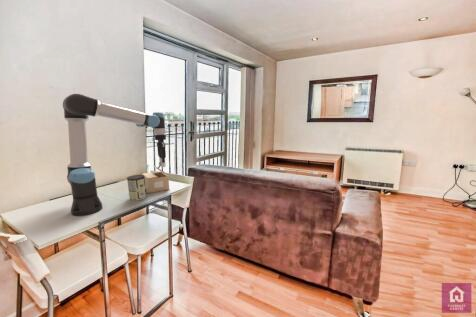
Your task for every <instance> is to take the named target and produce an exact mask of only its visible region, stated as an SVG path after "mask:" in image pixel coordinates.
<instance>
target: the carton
mask: <svg viewBox="0 0 476 317" xmlns="http://www.w3.org/2000/svg"><path fill="white" fill-rule="evenodd" d="M166 174H167V173H166ZM166 174H164V173H163V172H161V171H158V172H157V171H156V172H152V171H150V172H144V173H142V174H141V175H144V176H145V177H144V178H145V188H146V193H148V194H153V193H159V192H164V191H163V190H165V191H169V190H170V183H169V182H170V180H169V175H168V176H167V175H166Z"/></svg>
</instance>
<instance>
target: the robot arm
mask: <svg viewBox="0 0 476 317" xmlns="http://www.w3.org/2000/svg"><path fill="white" fill-rule="evenodd" d="M62 108H63V113H64V114H63V115H64V119H65V121H67V125H68V126H67V128H68V142H69V143H68V145H69V160H70V162H69V164H68V165H67V175H66V179H67V182H68V183H69V185H70V188H71V195H72V203H71V207H70V213H71V214H70V215H72V216H75V217H76V216H77V217H79V216H80V217H81V216H86V215H91V214H94V213H97V212H99V211H101V210H103V209H104V208H103V203H102V201H101V199H100V197H99V195H98V190H97V189H98V188H97V183H96V173H95V171H94V169H92V165H91V163H89V160H88V142H87V141H88V140H87V122H88V121H89V117H97V116H98V117H103V118H107V119H113V120H116V121H122V122H127V123H131V124H135V126H136V127H137V128H142V127H146V128H149V127H150V128H153V131H154V141H157V142H156V147H157V157H159V158H158V159H159V162H160V161H161V166H160V167H161V168H166V157H167V156H166V155H167V154H166V143H165V142H164V141H166V140H167V137H166V136H167V135H166V131H167V129H166V121H165V114H164V112H163V111H162V112H160V111H158V112H157V111H155V112H152V114H148V113H144V112H141V111H137V110H133V109H129V108H125V107H120V106H116V105H113V104H109V103H105V102H100V101H99V99H96V98H93V97H90V96H87V95H84V94H80V93H71V94H69V95H68V96H66V97H65V98H64V99H63V101H62Z"/></svg>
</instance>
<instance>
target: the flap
mask: <svg viewBox="0 0 476 317" xmlns="http://www.w3.org/2000/svg"><path fill="white" fill-rule="evenodd" d="M161 167H162V166H161V161H159V162H158V166H155V165H153V168H155V169H156V170H158V172H162V173H164V174H166V175H167V176H168V177H169V174H168V173H166V172H165V171H163V170H162V169H160V168H161Z"/></svg>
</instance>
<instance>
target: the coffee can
mask: <svg viewBox="0 0 476 317" xmlns="http://www.w3.org/2000/svg"><path fill="white" fill-rule="evenodd" d="M144 177H145V176H144V175H142V174H134V175H130V176H128V177H126V180H127V188H128V195H129V200H130V201H141V200H144V199H146V198H147V191H146V188H145V178H144Z"/></svg>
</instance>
